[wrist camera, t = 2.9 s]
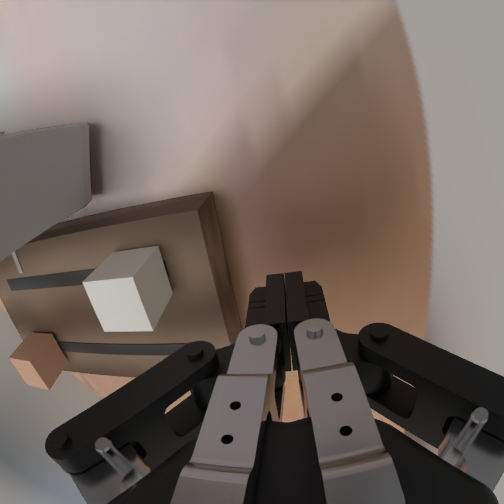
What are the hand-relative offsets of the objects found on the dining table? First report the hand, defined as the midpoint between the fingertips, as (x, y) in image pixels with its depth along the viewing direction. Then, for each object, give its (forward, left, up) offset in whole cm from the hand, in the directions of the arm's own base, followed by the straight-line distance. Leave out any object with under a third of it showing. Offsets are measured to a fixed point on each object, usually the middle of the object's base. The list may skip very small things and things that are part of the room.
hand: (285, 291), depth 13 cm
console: (+3, -14, -7) cm, 16 cm away
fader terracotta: (+6, -20, -3) cm, 21 cm away
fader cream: (0, -8, -3) cm, 9 cm away
